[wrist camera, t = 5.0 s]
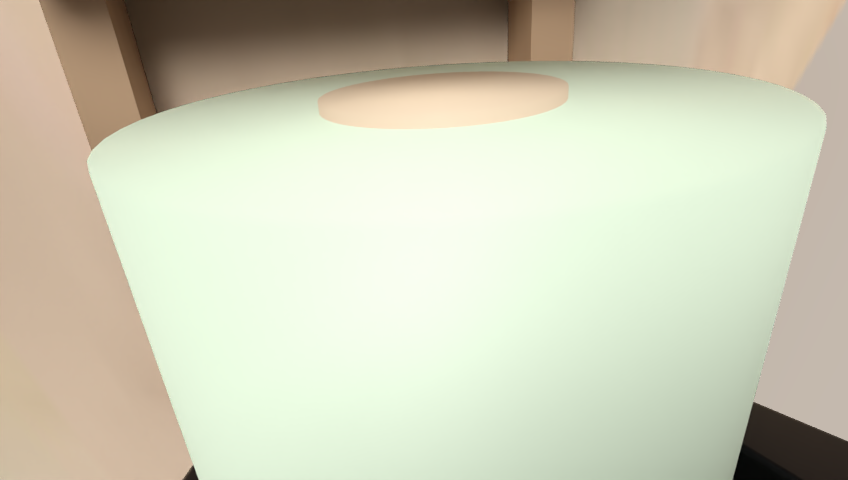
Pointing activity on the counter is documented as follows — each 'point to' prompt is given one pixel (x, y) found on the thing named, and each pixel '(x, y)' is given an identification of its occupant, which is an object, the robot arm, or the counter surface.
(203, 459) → the roll
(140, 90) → the holder
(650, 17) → the counter surface
